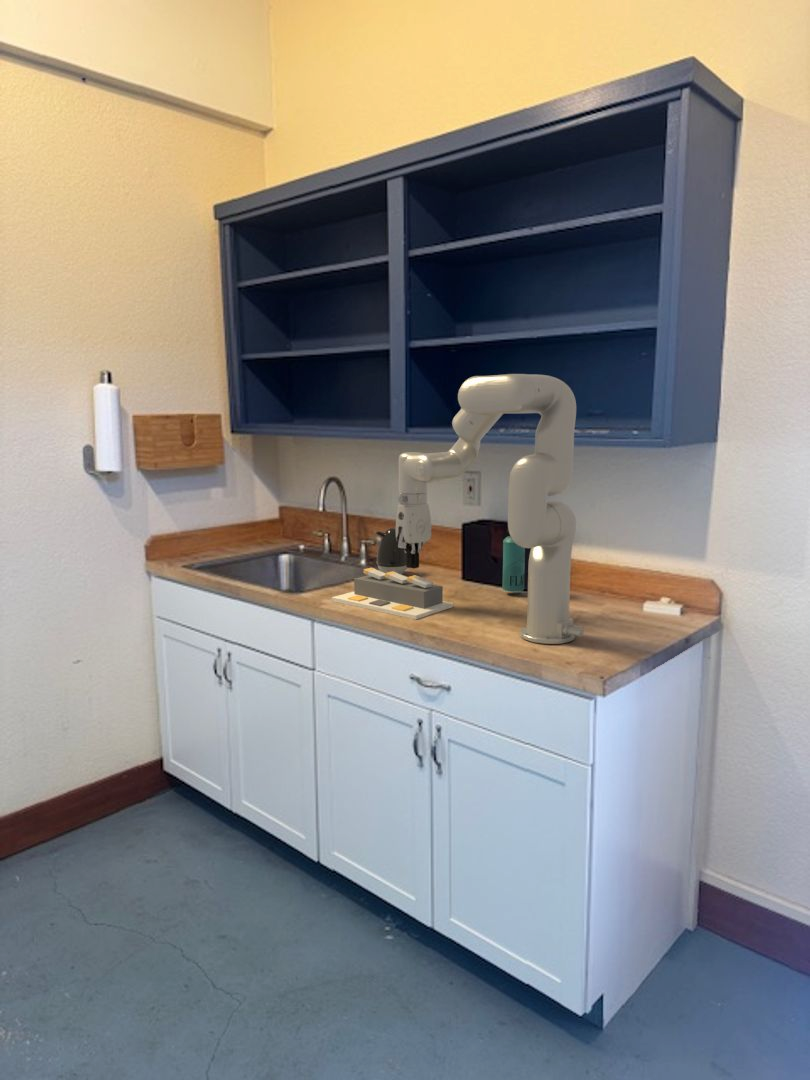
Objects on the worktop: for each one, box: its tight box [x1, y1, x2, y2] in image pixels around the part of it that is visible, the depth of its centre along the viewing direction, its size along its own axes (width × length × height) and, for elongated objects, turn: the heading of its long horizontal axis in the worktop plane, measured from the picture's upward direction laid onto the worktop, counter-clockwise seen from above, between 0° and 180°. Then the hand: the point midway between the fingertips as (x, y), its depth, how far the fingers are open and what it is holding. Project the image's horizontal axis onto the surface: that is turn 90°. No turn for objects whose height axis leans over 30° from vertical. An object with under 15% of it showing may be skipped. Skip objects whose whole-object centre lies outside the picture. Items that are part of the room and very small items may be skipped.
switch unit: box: [331, 574, 454, 620], centre depth 206 cm, size 30×16×6 cm, turn 50°
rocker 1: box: [362, 567, 386, 580], centre depth 212 cm, size 6×3×1 cm, turn 50°
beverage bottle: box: [501, 526, 527, 593], centre depth 215 cm, size 6×7×20 cm
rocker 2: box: [406, 575, 434, 588], centre depth 202 cm, size 6×3×1 cm, turn 50°
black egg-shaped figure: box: [375, 527, 408, 575], centre depth 241 cm, size 10×10×15 cm
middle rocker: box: [385, 571, 409, 584], centre depth 207 cm, size 6×3×1 cm, turn 50°
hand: (412, 567), depth 203 cm, fingers closed
